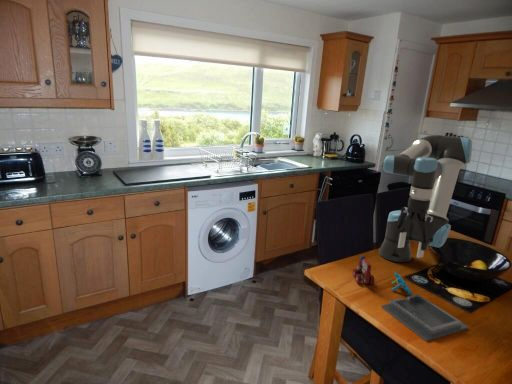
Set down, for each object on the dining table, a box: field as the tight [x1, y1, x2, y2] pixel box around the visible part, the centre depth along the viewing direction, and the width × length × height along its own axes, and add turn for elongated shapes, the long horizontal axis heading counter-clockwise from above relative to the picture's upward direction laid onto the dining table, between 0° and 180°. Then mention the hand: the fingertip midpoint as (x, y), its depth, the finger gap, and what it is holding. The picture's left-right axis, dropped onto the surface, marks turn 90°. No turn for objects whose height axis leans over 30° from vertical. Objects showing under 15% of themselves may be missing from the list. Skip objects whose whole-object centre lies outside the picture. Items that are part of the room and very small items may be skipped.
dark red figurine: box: [352, 255, 375, 286], centre depth 145 cm, size 7×12×10 cm, turn 178°
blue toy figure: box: [391, 272, 413, 296], centre depth 138 cm, size 11×6×10 cm
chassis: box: [381, 293, 469, 342], centre depth 121 cm, size 20×20×3 cm
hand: (410, 251), depth 136 cm, fingers open, 9 cm apart
